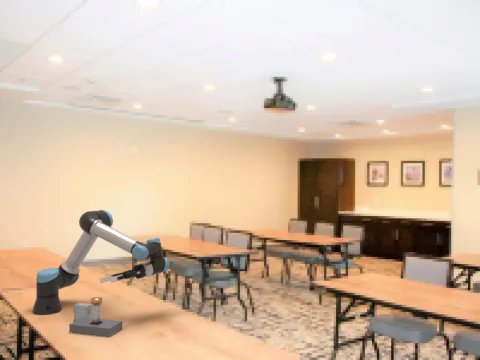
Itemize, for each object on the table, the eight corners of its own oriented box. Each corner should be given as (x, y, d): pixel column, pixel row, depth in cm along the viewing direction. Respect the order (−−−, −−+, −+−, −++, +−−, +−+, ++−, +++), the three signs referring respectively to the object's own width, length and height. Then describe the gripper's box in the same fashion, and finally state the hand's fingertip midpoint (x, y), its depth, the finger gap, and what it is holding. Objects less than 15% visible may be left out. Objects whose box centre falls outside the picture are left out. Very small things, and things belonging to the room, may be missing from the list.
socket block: (69, 332, 215) (69, 324, 215) (84, 325, 227) (84, 317, 227) (109, 337, 209) (109, 328, 209) (122, 329, 221) (122, 321, 221)
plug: (88, 332, 216) (88, 299, 216) (94, 328, 221) (94, 296, 221) (97, 333, 215) (98, 300, 215) (103, 329, 220) (104, 297, 220)
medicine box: (91, 320, 235) (91, 304, 235) (86, 322, 230) (86, 306, 231) (78, 319, 237) (79, 302, 237) (73, 321, 233) (73, 305, 233)
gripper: (155, 276, 229) (117, 287, 215) (133, 277, 248) (97, 288, 234) (152, 262, 229) (114, 272, 216) (131, 264, 248) (94, 274, 234)
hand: (105, 280), depth 225 cm, fingers open, 13 cm apart
